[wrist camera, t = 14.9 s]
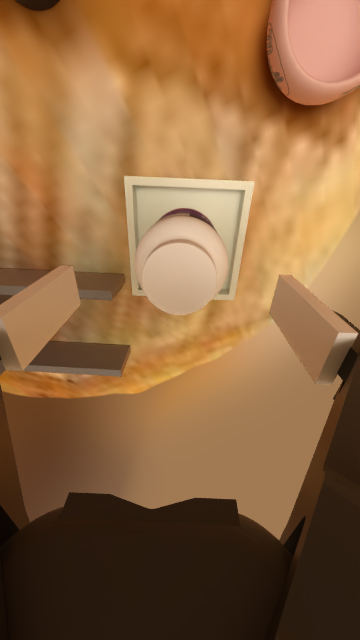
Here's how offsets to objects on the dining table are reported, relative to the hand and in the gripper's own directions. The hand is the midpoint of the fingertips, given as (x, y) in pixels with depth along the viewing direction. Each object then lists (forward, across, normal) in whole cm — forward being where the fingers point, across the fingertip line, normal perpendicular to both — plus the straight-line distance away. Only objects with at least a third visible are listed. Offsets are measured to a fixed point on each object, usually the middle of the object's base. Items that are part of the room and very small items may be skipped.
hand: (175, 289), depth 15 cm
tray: (+17, +1, 0) cm, 17 cm away
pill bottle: (+16, 0, 0) cm, 16 cm away
